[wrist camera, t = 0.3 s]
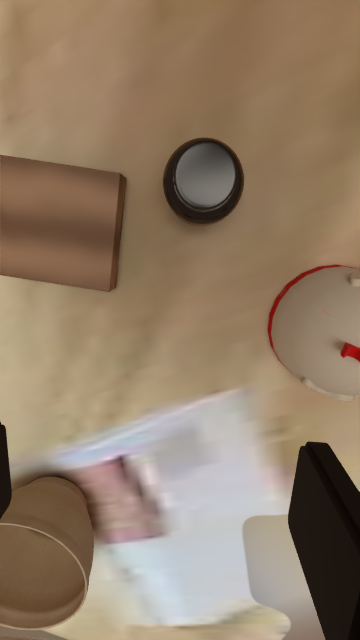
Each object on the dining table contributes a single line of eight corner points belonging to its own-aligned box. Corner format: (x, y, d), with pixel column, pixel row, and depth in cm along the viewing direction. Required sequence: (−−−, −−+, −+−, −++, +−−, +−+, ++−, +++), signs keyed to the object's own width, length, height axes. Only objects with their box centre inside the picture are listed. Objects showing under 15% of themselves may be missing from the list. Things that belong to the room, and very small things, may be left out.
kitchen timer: (354, 392, 40) (444, 481, 26) (250, 358, 40) (283, 430, 25) (409, 287, 37) (549, 323, 22) (296, 248, 36) (365, 259, 22)
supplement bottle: (168, 224, 36) (155, 221, 25) (170, 157, 34) (158, 119, 23) (229, 227, 36) (247, 225, 24) (235, 160, 34) (256, 123, 23)
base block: (16, 161, 35) (0, 154, 32) (126, 178, 35) (120, 173, 32) (14, 271, 38) (0, 275, 35) (115, 287, 38) (109, 291, 35)
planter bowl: (-23, 486, 47) (-86, 560, 36) (65, 436, 44) (24, 500, 33) (46, 561, 50) (7, 649, 39) (132, 519, 47) (115, 601, 37)
